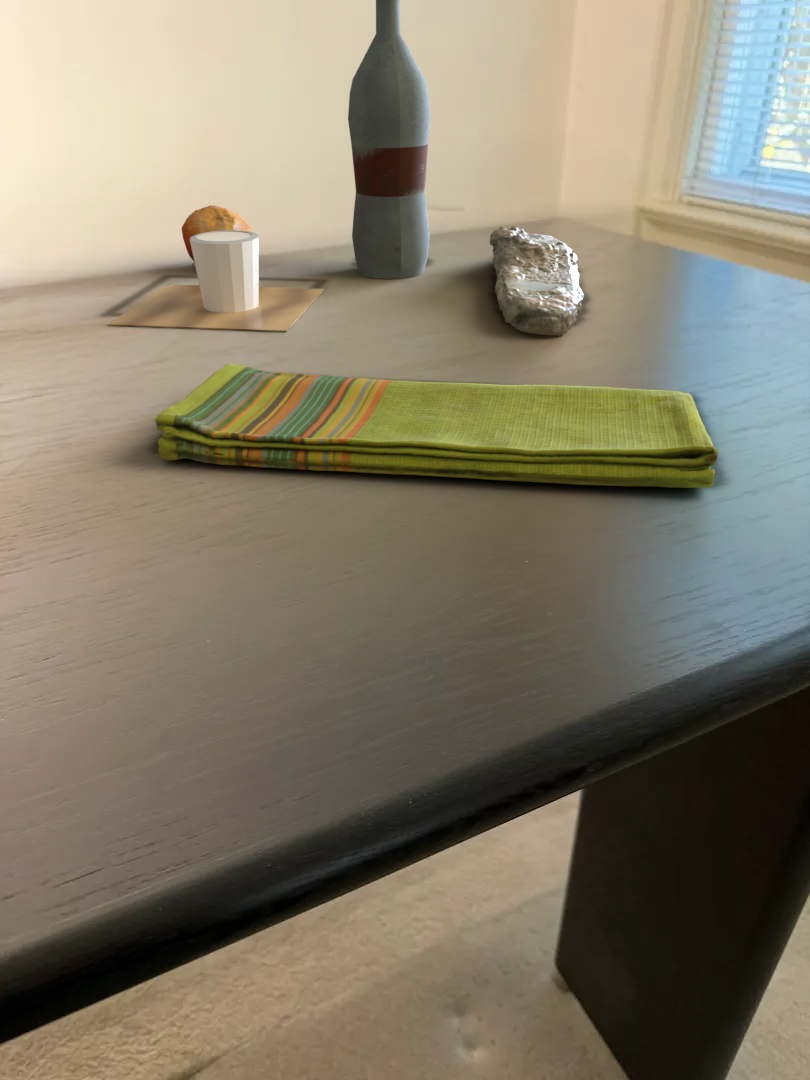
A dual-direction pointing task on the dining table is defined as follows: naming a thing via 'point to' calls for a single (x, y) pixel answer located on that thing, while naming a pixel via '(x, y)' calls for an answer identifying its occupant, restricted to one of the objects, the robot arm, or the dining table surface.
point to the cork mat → (187, 311)
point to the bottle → (389, 154)
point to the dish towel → (442, 429)
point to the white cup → (227, 269)
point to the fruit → (211, 223)
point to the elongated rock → (536, 281)
